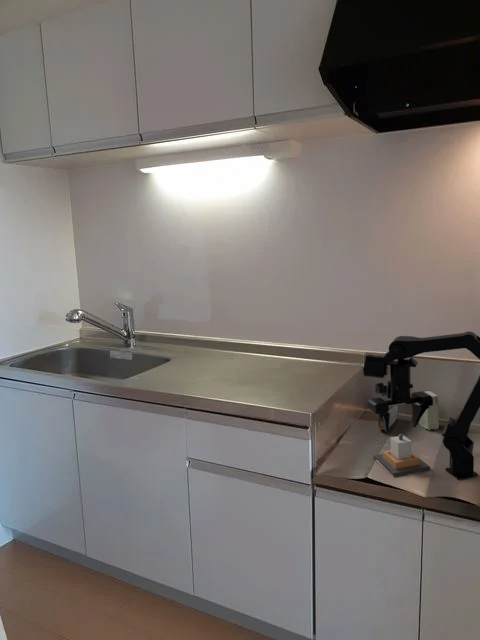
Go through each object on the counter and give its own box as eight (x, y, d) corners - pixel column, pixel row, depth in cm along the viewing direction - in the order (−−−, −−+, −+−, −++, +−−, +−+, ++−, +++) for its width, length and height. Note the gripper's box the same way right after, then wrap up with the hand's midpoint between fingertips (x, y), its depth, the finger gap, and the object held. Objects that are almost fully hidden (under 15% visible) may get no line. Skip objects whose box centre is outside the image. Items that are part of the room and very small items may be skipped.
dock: (429, 469, 154) (429, 460, 153) (393, 476, 151) (392, 466, 150) (408, 452, 165) (407, 443, 164) (373, 458, 162) (373, 449, 162)
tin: (391, 417, 193) (391, 396, 192) (399, 419, 191) (399, 397, 190) (377, 432, 181) (377, 409, 179) (386, 434, 179) (386, 411, 178)
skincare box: (439, 429, 180) (439, 396, 178) (427, 431, 180) (427, 397, 177) (429, 422, 186) (429, 390, 184) (418, 424, 186) (418, 391, 183)
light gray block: (411, 462, 156) (411, 436, 155) (398, 465, 155) (398, 438, 154) (403, 456, 160) (403, 430, 159) (390, 458, 159) (390, 433, 158)
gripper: (413, 368, 162) (413, 415, 166) (358, 375, 158) (359, 423, 162) (434, 378, 152) (434, 428, 155) (376, 386, 148) (376, 438, 151)
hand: (400, 429), depth 156 cm, fingers open, 9 cm apart
